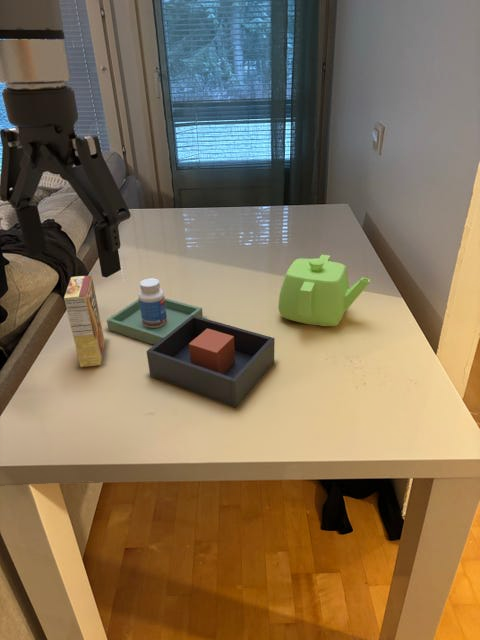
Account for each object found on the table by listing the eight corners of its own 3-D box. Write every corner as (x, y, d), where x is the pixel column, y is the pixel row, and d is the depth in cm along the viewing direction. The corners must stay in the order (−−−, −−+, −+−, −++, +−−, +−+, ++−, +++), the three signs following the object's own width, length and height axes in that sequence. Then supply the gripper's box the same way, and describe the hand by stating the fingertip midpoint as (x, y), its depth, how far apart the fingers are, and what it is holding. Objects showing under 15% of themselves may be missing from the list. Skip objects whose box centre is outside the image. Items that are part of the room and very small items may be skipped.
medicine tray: (108, 329, 101) (106, 319, 100) (148, 302, 111) (147, 293, 110) (165, 348, 94) (164, 338, 93) (202, 318, 104) (202, 308, 103)
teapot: (370, 301, 109) (377, 249, 102) (356, 347, 93) (363, 289, 86) (294, 289, 115) (296, 239, 108) (268, 331, 99) (269, 275, 92)
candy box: (85, 343, 97) (69, 276, 89) (106, 340, 97) (92, 274, 90) (80, 368, 89) (62, 298, 81) (102, 365, 90) (87, 295, 82)
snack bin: (150, 375, 87) (146, 351, 84) (194, 337, 98) (192, 314, 95) (236, 407, 79) (235, 381, 76) (274, 362, 89) (274, 338, 87)
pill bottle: (167, 327, 100) (162, 287, 95) (142, 330, 99) (135, 289, 94) (167, 314, 105) (162, 275, 100) (142, 317, 104) (136, 277, 99)
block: (191, 370, 87) (188, 343, 84) (208, 353, 91) (207, 328, 88) (218, 379, 84) (216, 352, 81) (235, 362, 89) (234, 336, 86)
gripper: (148, 87, 49) (165, 271, 60) (-7, 79, 59) (32, 237, 70) (97, 92, 43) (126, 295, 54) (-64, 83, 54) (-13, 254, 65)
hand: (73, 263), depth 62 cm, fingers open, 13 cm apart
